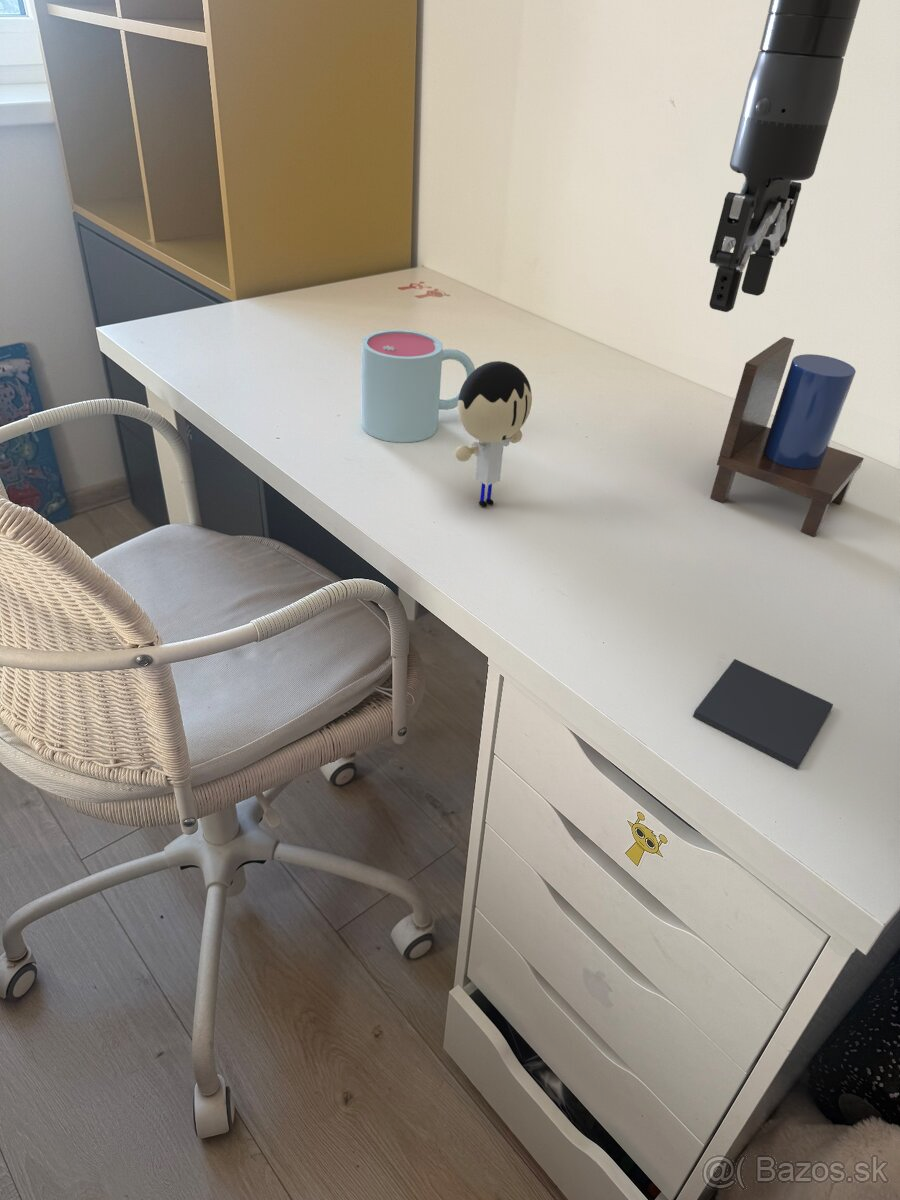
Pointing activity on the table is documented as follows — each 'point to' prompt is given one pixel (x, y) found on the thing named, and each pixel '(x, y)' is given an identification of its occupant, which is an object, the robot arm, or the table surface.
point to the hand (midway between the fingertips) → (736, 301)
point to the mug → (404, 384)
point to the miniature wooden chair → (750, 438)
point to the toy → (492, 417)
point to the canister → (808, 410)
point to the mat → (764, 712)
